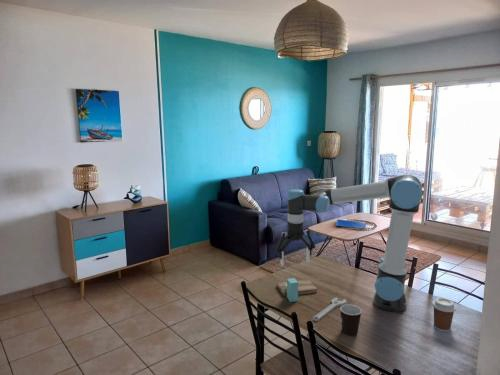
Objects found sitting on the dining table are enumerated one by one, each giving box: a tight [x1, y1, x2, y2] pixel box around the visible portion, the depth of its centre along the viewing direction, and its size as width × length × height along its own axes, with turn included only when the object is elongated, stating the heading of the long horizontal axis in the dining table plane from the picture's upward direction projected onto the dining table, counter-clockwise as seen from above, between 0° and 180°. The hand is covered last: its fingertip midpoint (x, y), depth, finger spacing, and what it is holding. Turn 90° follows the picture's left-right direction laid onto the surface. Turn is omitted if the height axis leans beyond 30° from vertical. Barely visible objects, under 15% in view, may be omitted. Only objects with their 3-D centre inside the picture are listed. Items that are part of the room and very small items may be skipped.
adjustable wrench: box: [312, 297, 347, 322], centre depth 172 cm, size 25×6×2 cm, turn 133°
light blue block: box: [285, 277, 299, 303], centre depth 184 cm, size 11×4×10 cm, turn 15°
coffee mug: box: [339, 304, 363, 337], centre depth 155 cm, size 12×9×10 cm
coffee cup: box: [431, 297, 457, 332], centre depth 156 cm, size 9×9×12 cm
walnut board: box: [276, 278, 318, 297], centre depth 193 cm, size 12×18×2 cm, turn 104°
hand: (295, 263), depth 179 cm, fingers open, 13 cm apart
